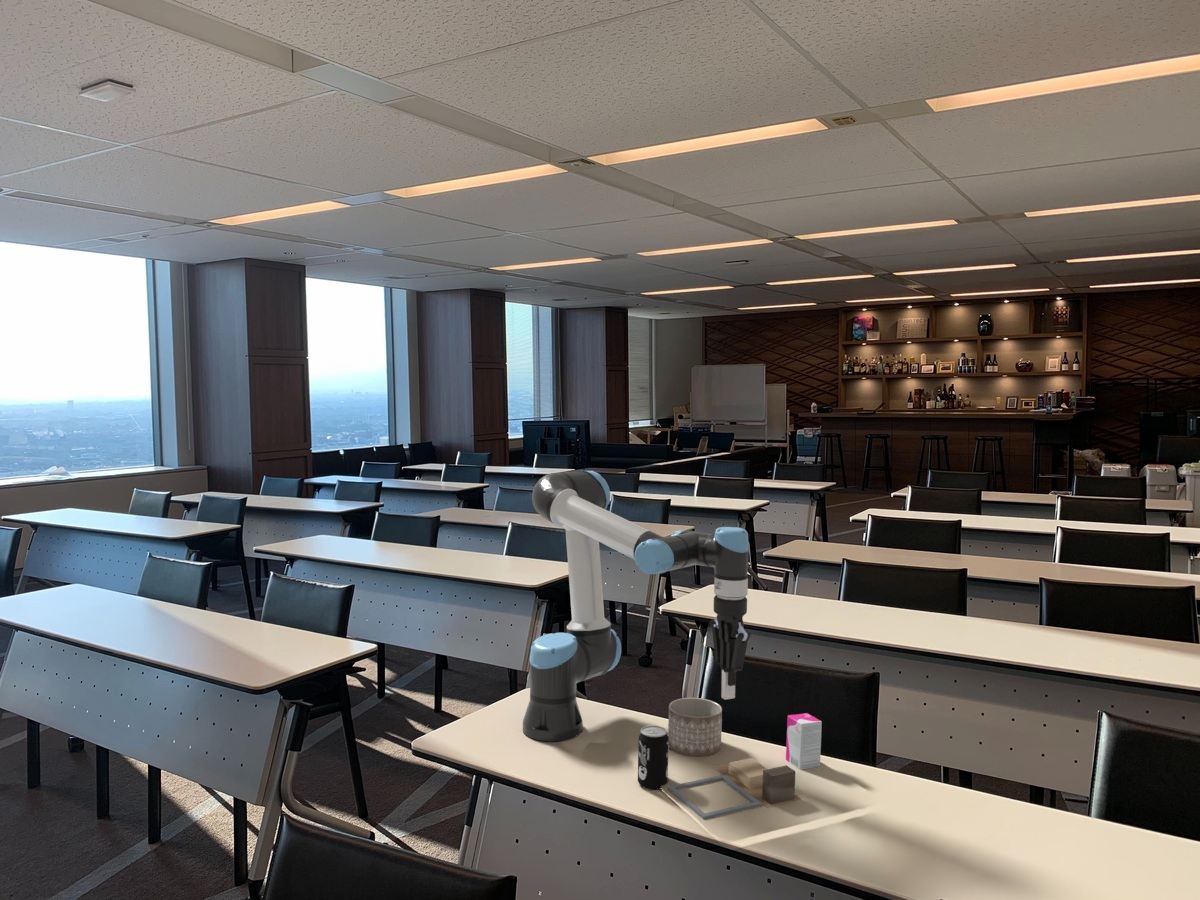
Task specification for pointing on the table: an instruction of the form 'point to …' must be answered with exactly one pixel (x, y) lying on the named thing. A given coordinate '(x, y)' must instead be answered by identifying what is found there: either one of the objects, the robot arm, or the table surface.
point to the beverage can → (653, 757)
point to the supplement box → (803, 741)
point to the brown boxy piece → (769, 785)
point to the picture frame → (720, 812)
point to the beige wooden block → (747, 772)
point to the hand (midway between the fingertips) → (728, 697)
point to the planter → (695, 726)
